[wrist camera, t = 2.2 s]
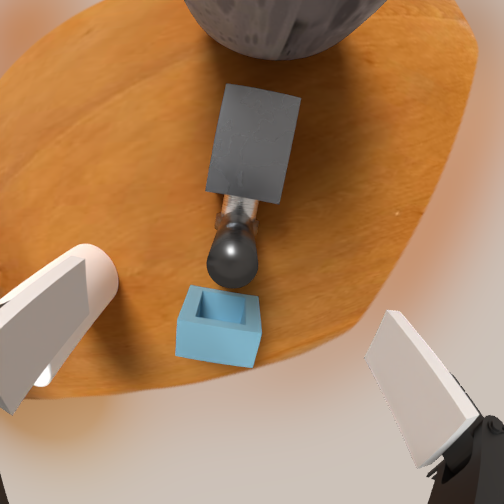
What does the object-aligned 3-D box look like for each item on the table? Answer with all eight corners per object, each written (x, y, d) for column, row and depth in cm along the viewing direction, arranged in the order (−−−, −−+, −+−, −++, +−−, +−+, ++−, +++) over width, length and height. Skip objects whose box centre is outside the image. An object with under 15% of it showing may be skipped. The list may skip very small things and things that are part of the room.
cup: (129, 270, 30) (57, 355, 15) (105, 315, 32) (46, 399, 17) (78, 230, 28) (-15, 287, 13) (59, 278, 30) (-15, 345, 15)
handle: (239, 100, 24) (235, 57, 12) (280, 108, 24) (307, 72, 13) (209, 266, 29) (190, 334, 18) (246, 272, 30) (248, 344, 18)
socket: (190, 285, 31) (177, 319, 24) (258, 296, 31) (262, 333, 25) (187, 317, 32) (175, 355, 25) (250, 328, 33) (252, 368, 26)
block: (230, 98, 24) (226, 83, 19) (289, 110, 25) (301, 97, 19) (213, 184, 27) (205, 191, 21) (271, 194, 28) (279, 204, 22)
